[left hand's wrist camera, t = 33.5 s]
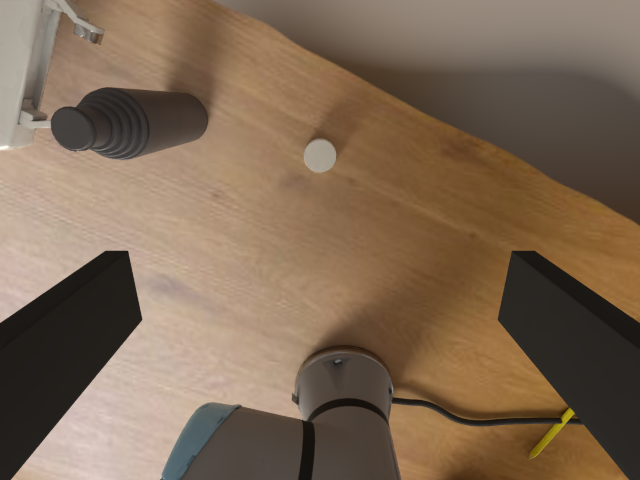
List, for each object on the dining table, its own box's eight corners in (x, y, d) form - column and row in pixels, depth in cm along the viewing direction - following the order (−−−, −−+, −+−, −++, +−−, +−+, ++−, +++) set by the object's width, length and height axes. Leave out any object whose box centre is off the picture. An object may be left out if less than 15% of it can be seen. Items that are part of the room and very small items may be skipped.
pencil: (583, 389, 57) (587, 393, 56) (588, 391, 57) (592, 395, 56) (523, 457, 63) (526, 462, 62) (528, 458, 63) (531, 464, 62)
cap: (304, 170, 45) (304, 173, 43) (303, 137, 44) (302, 139, 42) (335, 170, 45) (336, 172, 43) (336, 137, 44) (336, 138, 42)
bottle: (162, 88, 42) (23, 74, 22) (210, 98, 42) (114, 94, 22) (160, 136, 44) (30, 162, 24) (205, 145, 44) (113, 179, 24)
